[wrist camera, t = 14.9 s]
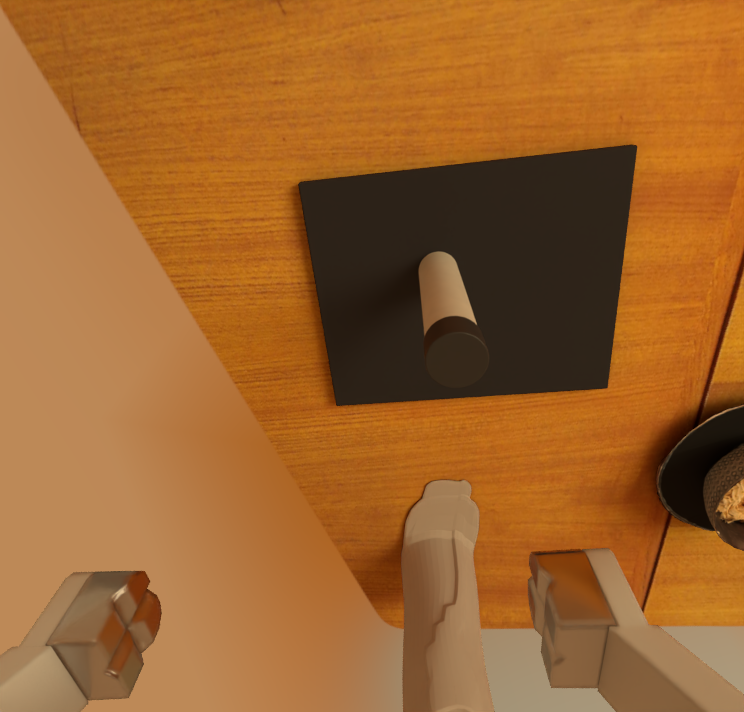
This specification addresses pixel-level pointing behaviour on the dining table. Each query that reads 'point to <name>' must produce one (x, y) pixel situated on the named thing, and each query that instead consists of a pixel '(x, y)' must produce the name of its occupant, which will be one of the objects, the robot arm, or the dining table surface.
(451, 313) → the marker
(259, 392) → the dining table surface
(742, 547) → the soup bowl
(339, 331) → the mat
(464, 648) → the candle
